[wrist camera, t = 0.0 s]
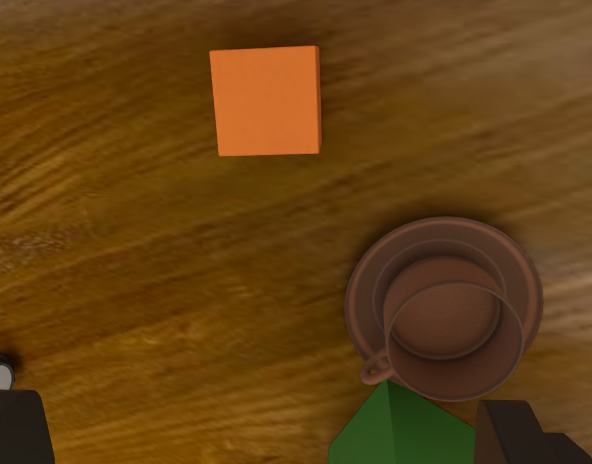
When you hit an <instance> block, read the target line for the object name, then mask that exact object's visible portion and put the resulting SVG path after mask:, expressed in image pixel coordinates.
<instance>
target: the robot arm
mask: <svg viewBox="0 0 592 464" xmlns="http://www.w3.org/2000/svg"><path fill="white" fill-rule="evenodd" d="M0 464H55V458H54V453H53V448H52V444H51V439H50V435H49V430H48V426H47V422H46V417H45V413H44V408H43V404H42V400H41V397H40V395H39V394H38V393H37V392H36V391H34V390H7V389H0ZM473 464H592V458H591V456H590V455H588V454H587V453H586V452H585V451H584V450H583V449H581V448H580V447H579V446H578V445H577V444H576V443H574V442H573V441H572V440H571V439H570V438H569V437H567V436H566V435H565V434H564V433H544V432H543V430H542V428H541V426H540V425H539V423H538V421H537V419H536V417H535V415H534V413H533V411H532V409H531V407H530V405H529V404H528V402H526V401H516V400H480V401H479V403H478V407H477V418H476V432H475V447H474V461H473Z"/></svg>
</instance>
